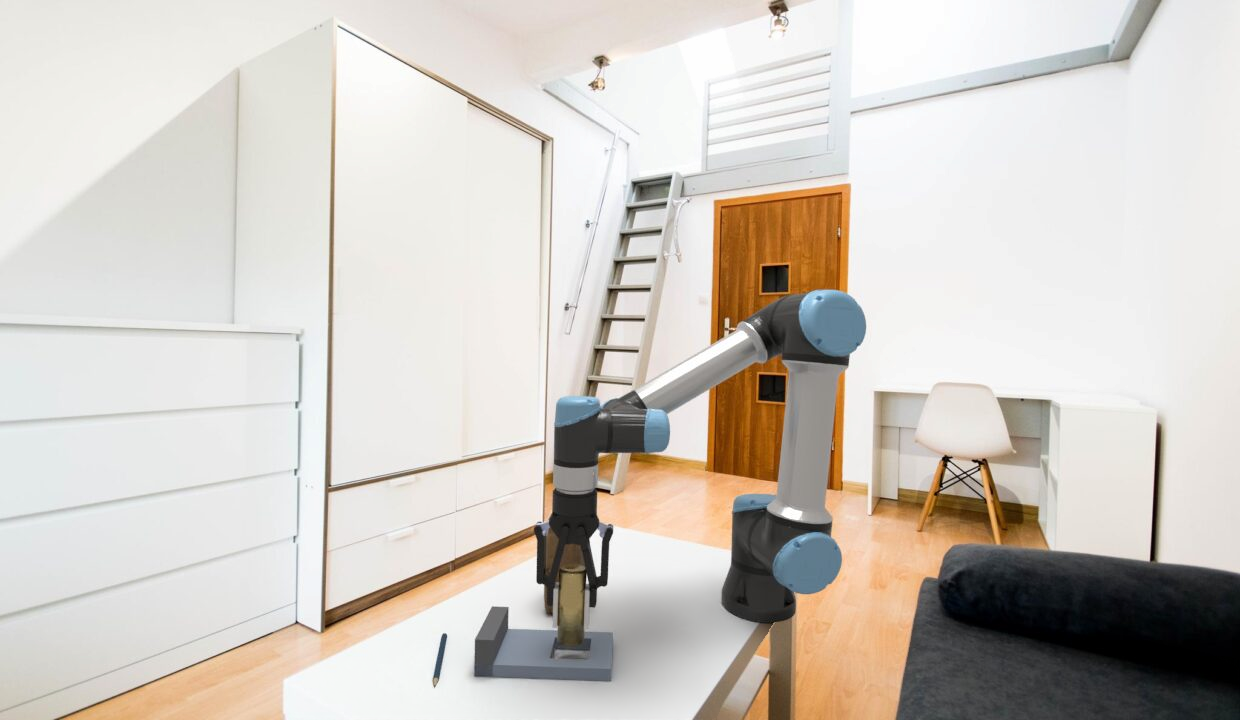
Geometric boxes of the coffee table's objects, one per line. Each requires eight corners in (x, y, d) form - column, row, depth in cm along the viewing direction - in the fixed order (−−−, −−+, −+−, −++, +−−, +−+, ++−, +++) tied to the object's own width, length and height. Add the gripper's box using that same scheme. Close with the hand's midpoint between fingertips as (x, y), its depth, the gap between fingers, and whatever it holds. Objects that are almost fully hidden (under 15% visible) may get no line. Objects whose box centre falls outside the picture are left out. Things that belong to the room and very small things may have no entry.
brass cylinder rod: (585, 632, 95) (587, 564, 95) (583, 647, 90) (585, 576, 90) (558, 631, 95) (560, 563, 95) (555, 646, 90) (557, 574, 90)
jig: (612, 643, 98) (613, 610, 98) (611, 681, 87) (612, 644, 87) (491, 639, 99) (491, 606, 98) (474, 676, 88) (474, 639, 87)
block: (577, 620, 106) (579, 518, 105) (540, 616, 107) (542, 515, 107) (589, 595, 117) (592, 502, 116) (556, 591, 118) (558, 500, 117)
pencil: (447, 637, 99) (437, 689, 85) (441, 638, 99) (430, 690, 84) (447, 633, 99) (437, 683, 85) (441, 633, 99) (431, 684, 84)
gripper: (627, 484, 96) (623, 615, 96) (527, 480, 96) (523, 611, 97) (627, 496, 88) (622, 638, 89) (518, 492, 88) (515, 634, 89)
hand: (571, 623), depth 93 cm, fingers closed on brass cylinder rod, 4 cm apart
